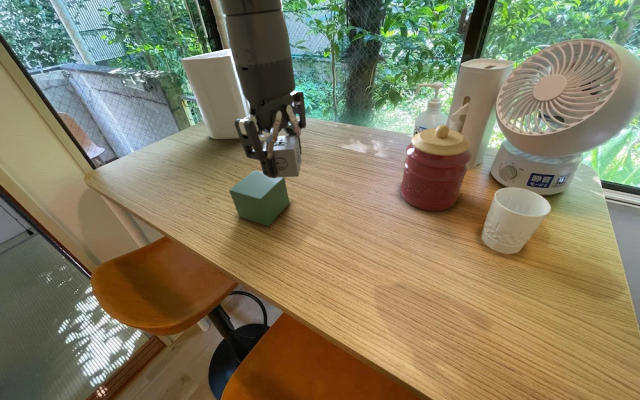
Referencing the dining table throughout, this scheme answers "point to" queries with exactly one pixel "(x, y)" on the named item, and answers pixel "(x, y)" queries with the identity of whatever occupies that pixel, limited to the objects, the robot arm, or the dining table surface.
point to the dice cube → (287, 156)
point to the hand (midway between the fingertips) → (284, 165)
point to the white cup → (513, 219)
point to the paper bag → (217, 92)
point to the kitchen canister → (435, 168)
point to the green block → (260, 197)
